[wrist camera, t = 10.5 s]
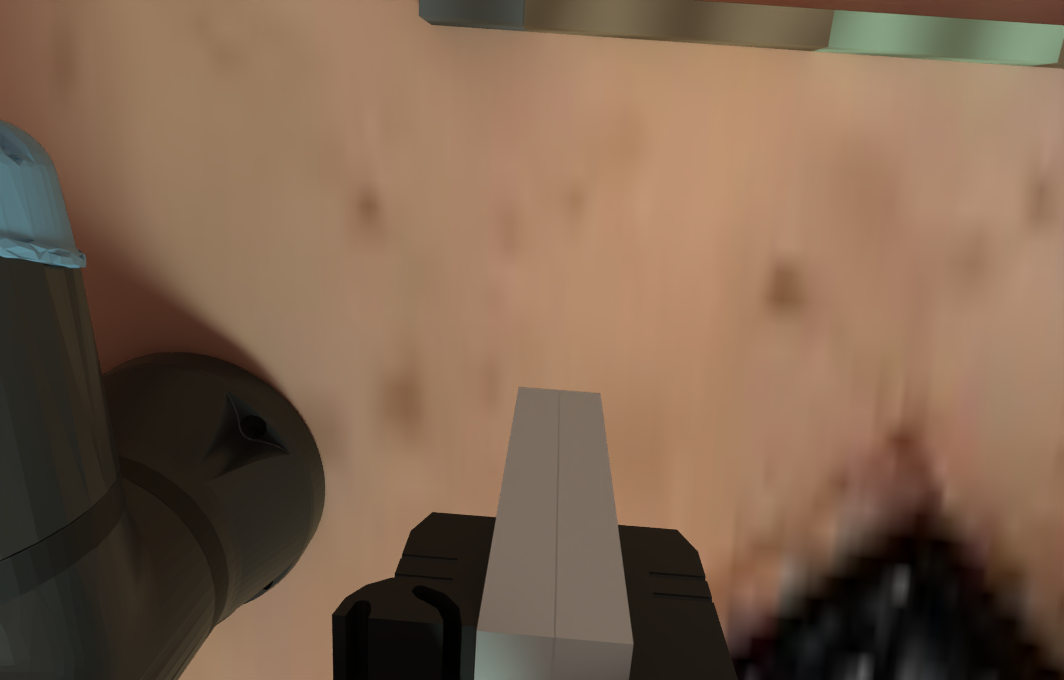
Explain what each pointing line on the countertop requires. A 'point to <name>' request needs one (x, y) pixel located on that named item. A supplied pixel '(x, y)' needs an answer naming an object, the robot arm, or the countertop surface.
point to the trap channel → (766, 28)
